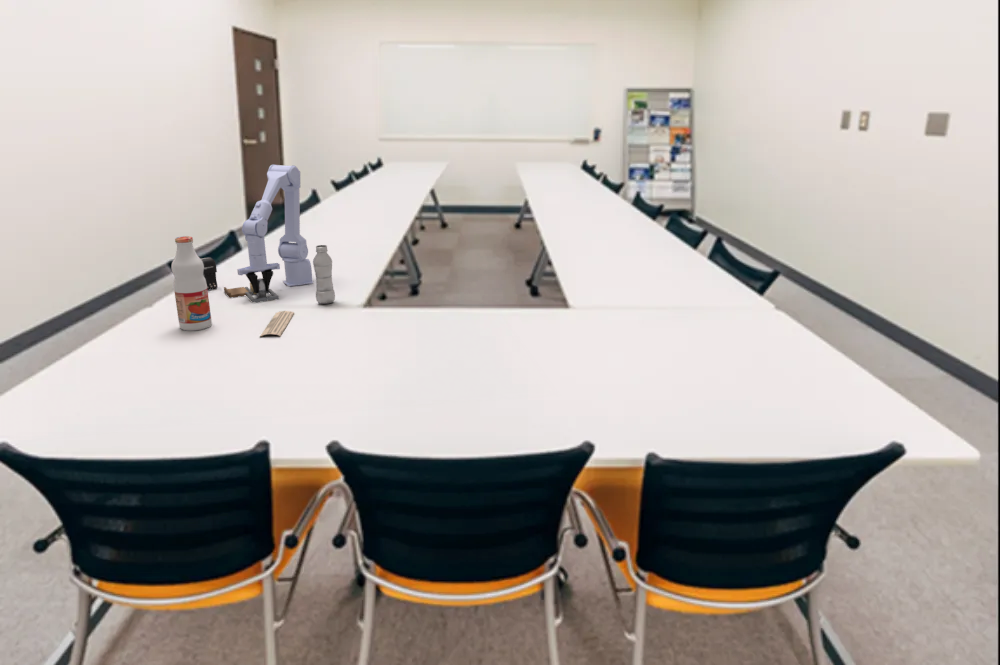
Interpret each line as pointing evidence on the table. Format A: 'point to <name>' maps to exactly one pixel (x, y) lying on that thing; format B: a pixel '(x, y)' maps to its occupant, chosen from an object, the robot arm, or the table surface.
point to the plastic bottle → (323, 276)
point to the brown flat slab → (235, 291)
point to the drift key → (252, 288)
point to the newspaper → (278, 323)
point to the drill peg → (261, 288)
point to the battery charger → (210, 273)
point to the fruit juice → (190, 287)
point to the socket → (274, 296)
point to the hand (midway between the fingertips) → (261, 291)
